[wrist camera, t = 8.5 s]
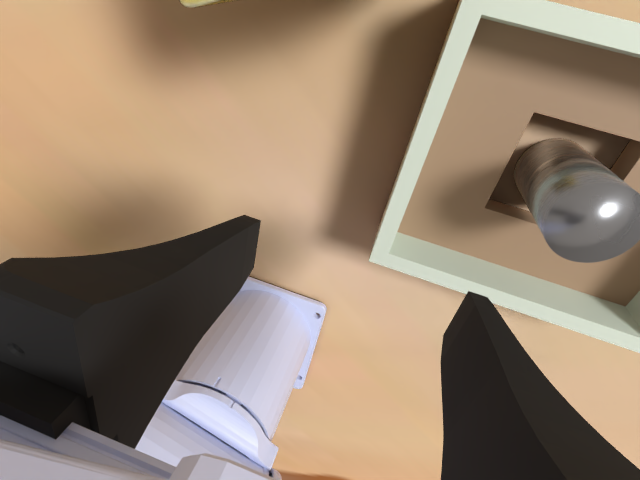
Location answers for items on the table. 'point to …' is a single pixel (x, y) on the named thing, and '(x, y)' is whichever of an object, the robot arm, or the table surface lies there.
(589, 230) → the peg
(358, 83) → the table surface
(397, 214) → the box
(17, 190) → the table surface
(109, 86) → the table surface
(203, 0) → the flower pot
